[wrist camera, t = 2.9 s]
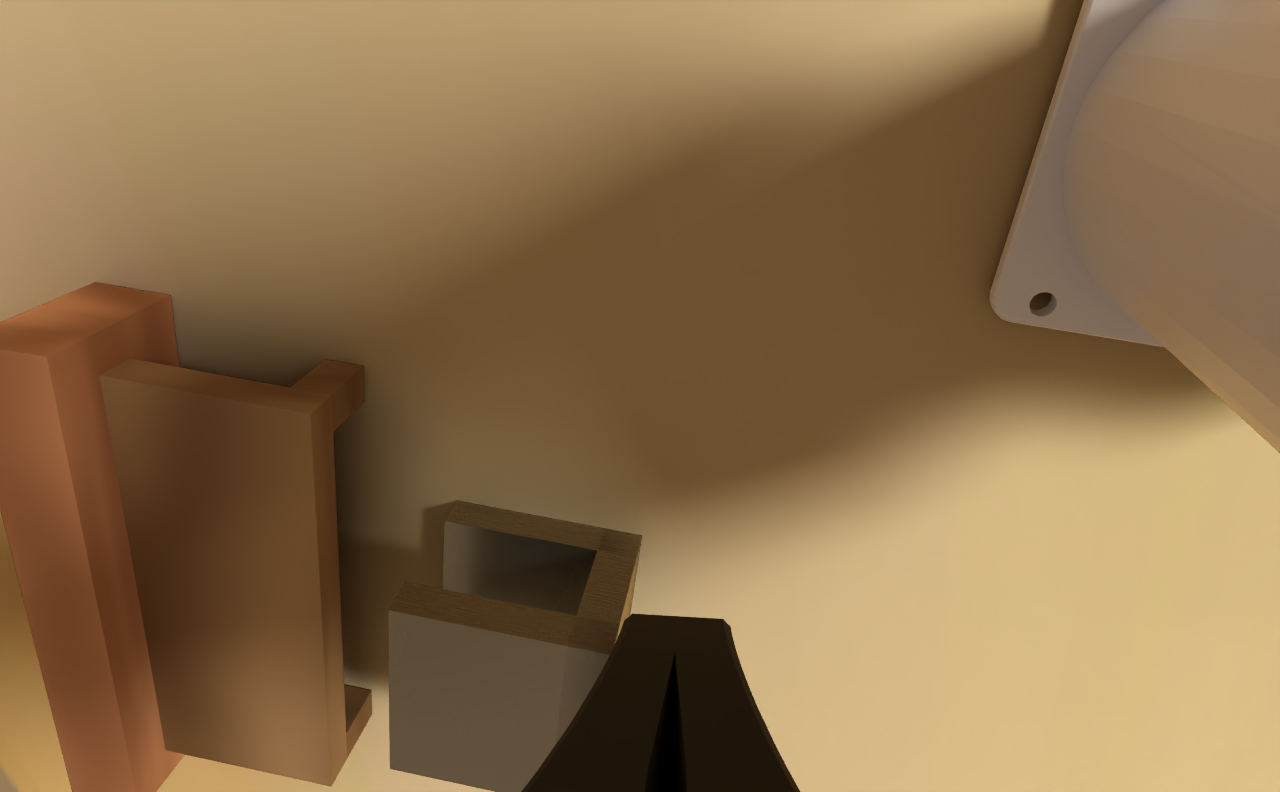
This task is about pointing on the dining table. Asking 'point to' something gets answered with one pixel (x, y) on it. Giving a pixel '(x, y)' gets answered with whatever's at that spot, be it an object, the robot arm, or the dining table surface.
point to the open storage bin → (503, 643)
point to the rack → (174, 546)
